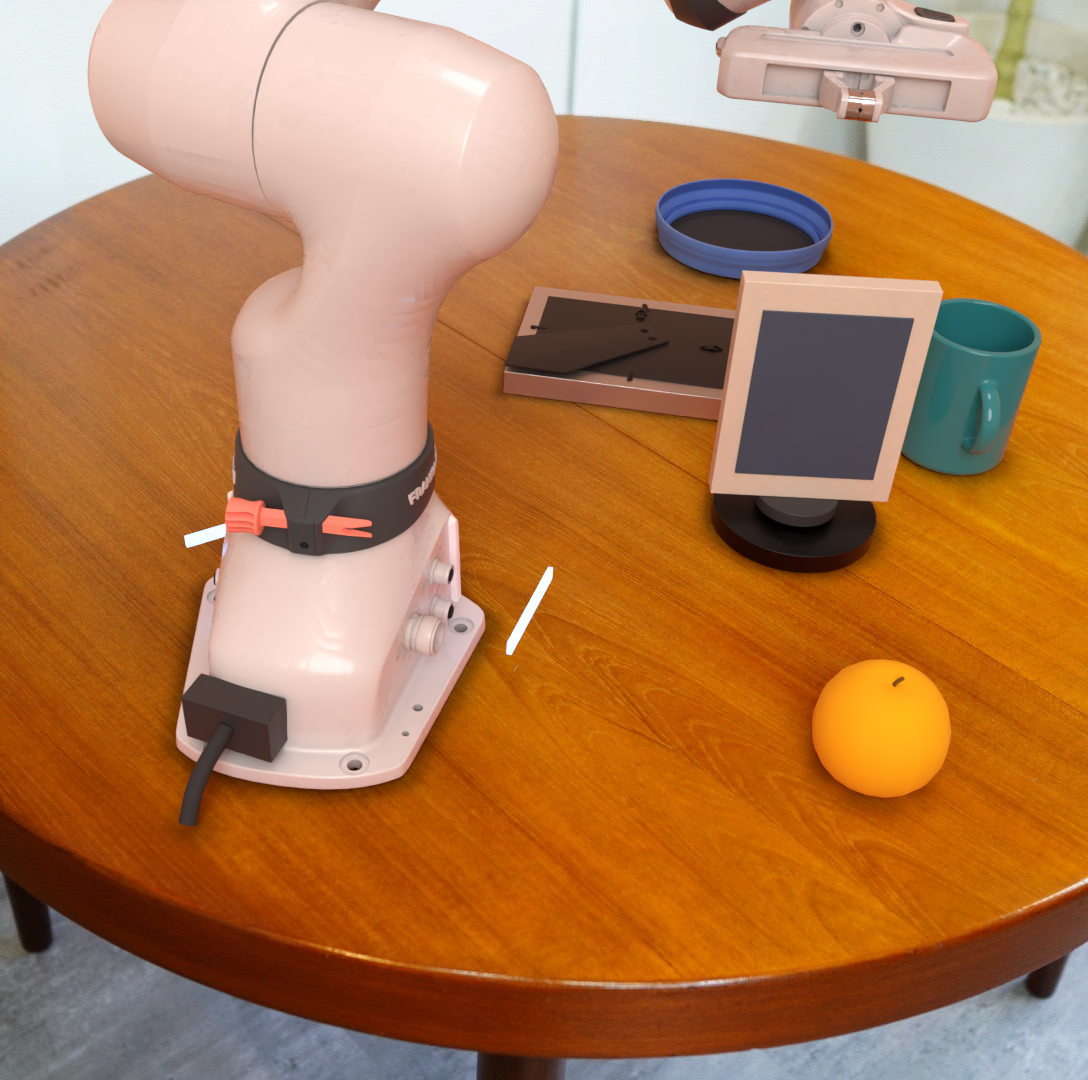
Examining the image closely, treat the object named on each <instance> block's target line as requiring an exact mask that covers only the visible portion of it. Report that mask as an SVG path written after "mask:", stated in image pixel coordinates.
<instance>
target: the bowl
mask: <svg viewBox="0 0 1088 1080" xmlns="http://www.w3.org/2000/svg"><path fill="white" fill-rule="evenodd" d="M654 217H655V225H656V228H657V230H658V231H657V237H658V241H659V243H660V246H661V247H662V249H664V251H665V252H666V253H667V254H668V255H669V256H670V257H672V258H673V259H675V260H676V261H678V263H681V264H683V265H684V266H687V267H689V268H691V269H694V270H697V271H699V272H702V273H705V274H710V275H713V276H718V277H723V278H728V279H729V278H730V279H735V280H741V275H742V271H743V270H745V271H763V272H781V273H799V274H804V273H805V272H807V271H809V270H811V269H813V268H814V267H815V266H816V265H817V264H818V263H820V260H821V259H822V256H823V254H824V251H825V250H826V249H827V247H828V245H829V244H830V242H831V239H832V236H833V232H834V231H833V230H834V220H833V217H832V215H831V213H830V211H829V210H828V209H827V208H826V207H825V206H824V205H823V204H822V203H820V202H819V201H817V200H815V199H813V198H812V197H811V196H808V195H806V194H805V193H802V192H800V191H797V190H794V189H791V188H788V187H785V186H781V185H779V184H774V183H769V182H764V181H761V180H760V181H759V180H752V179H743V178H729V177H727V178H726V177H725V178H723V177H722V178H721V177H720V178H705V179H699V180H697V179H696V180H693V181H687V182H683V183H680V184H678V185H674V186H673V187H670V188H669V189H667V190H666V191H665V192H663V193H662V194H661V195H660V196H659V198H658V199H657V202H656V206H655V211H654Z"/></svg>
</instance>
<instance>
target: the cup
mask: <svg viewBox="0 0 1088 1080" xmlns="http://www.w3.org/2000/svg"><path fill="white" fill-rule="evenodd" d="M1042 340H1043V336H1042V332H1041V330H1040V329H1039V327H1038V325H1037V324H1036V323H1035V322H1034V321H1033V320H1032V319H1031V318H1029V317H1028V316H1027V315H1025V314H1024V313H1021V311H1018V310H1016V309H1014V308H1011V307H1009V306H1006V305H1003V304H1001V303H997V302H994V301H989V300H984V299H978V298H969V297H954V298H947V299H946V298H945V299H941V303H940V307H939V311H938V314H937V318H936V322H935V326H934V329H933V333H932V337H931V341H930V344H929V348H928V352H927V356H926V359H925V363H924V367H923V371H922V374H921V378H920V382H919V386H918V389H917V393H916V397H915V401H914V404H913V408H912V412H911V416H910V419H909V423H908V427H907V431H906V435H905V438H904V442H903V446H902V450H901V453H900V454H902V455H903V456H904V457H905V458H907V459H908V460H910V461H911V462H912V463H914V464H916V465H918V466H920V467H921V468H924V469H927V470H930V471H932V472H936V473H940V474H944V475H951V476H973V475H974V476H975V475H979V474H980V475H981V474H983V473H987V472H989V471H991V470H993V469H994V468H996V467H997V466H998V465H999V464H1000V463H1001V462H1002V460H1003V459H1004V457H1005V454H1006V452H1007V448H1008V445H1009V442H1010V439H1011V437H1012V433H1013V431H1014V427H1015V424H1016V420H1017V418H1018V415H1019V412H1020V410H1021V409H1020V408H1021V405H1022V403H1023V399H1024V396H1025V393H1026V390H1027V388H1028V384H1029V381H1030V378H1031V375H1032V372H1033V369H1034V365H1035V362H1036V360H1037V357H1038V354H1039V351H1040V347H1041V344H1042Z"/></svg>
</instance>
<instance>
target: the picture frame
mask: <svg viewBox="0 0 1088 1080" xmlns="http://www.w3.org/2000/svg"><path fill="white" fill-rule="evenodd" d="M531 293H532V294H531V296H530V299H529V302H528V305H527V307H526V310H525V313H524V316H523V318H522V321H521V324H520V327H519V330H518V333H517V335H516V336H514V338H513V341H512V343H511V346H510V349H509V351H508V354H507V356H506V359H505V362H504V367H505V369H504V371H503V394H508V395H516V396H523V397H531V398H540V399H547V400H555V401H563V402H571V403H578V404H584V405H585V404H586V405H594V406H601V407H608V408H617V409H625V410H633V411H640V412H646V413H647V412H648V413H654V414H656V413H657V414H663V415H670V416H678V417H686V418H693V419H702V420H708V421H709V420H710V421H716V422H718V418H719V412H720V406H721V399H722V393H723V387H724V381H725V374H726V368H727V362H728V356H729V350H730V343H731V337H732V331H733V325H734V318H735V312H736V309H729V308H720V307H711V306H706V305H705V306H704V305H696V304H688V303H680V302H672V301H671V302H670V301H665V300H655V299H648V298H647V299H646V298H638V297H631V296H623V295H622V296H621V295H613V294H606V293H598V292H588V291H580V290H579V291H578V290H573V289H565V288H564V289H563V288H558V287H557V288H556V287H547V286H540V285H539V286H538V285H535V286H534V288H533V290H532V292H531Z"/></svg>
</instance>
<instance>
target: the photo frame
mask: <svg viewBox="0 0 1088 1080" xmlns="http://www.w3.org/2000/svg"><path fill="white" fill-rule="evenodd" d="M943 296H944V290H943V288H942V286H941V284H940V282H939V281H938V280H922V279H905V278H904V279H902V278H888V277H869V276H853V275H852V276H851V275H850V276H849V275H833V274H832V275H831V274H816V273H800V274H799V273H781V272H763V271H745V270H743V271H742V275H741V279H740V281H739V288H738V294H737V301H736V307H735V310H736V312H735V318H734V325H733V331H732V337H731V343H730V350H729V356H728V362H727V368H726V374H725V381H724V387H723V393H722V399H721V406H720V412H719V418H718V421H717V426H716V431H715V437H714V444H713V451H712V454H711V455H712V456H711V461H710V468H709V475H708V486H709V487H708V488H709V493H710V494H714V493H719V494H739V495H755V502H756V504H757V506H758V508H759V509H760V510H761V511H762V512H763V513H764V514H765V515H766V516H768V517H769V518H771V519H773V520H775V521H777V522H780V523H783V524H786V525H790V526H796V527H812V526H817V525H821V524H823V523H826V522H827V521H829V520H830V519H831V518H832V517H833V516H834V514H835V512H836V509H837V504H838V500H856V501H871V502H877V503H878V502H879V503H888V502H889V498H890V495H891V490H892V486H893V483H894V480H895V475H896V472H897V469H898V464H899V462H900V461H899V460H900V457H901V454H902V453H901V450H902V446H903V442H904V438H905V435H906V431H907V427H908V423H909V419H910V416H911V412H912V408H913V404H914V401H915V397H916V393H917V389H918V386H919V382H920V378H921V374H922V371H923V367H924V363H925V359H926V356H927V352H928V348H929V344H930V341H931V337H932V333H933V329H934V326H935V322H936V318H937V314H938V311H939V307H940V303H941V300H943Z"/></svg>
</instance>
